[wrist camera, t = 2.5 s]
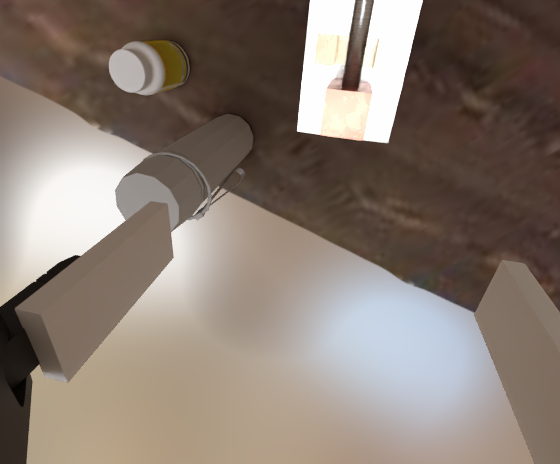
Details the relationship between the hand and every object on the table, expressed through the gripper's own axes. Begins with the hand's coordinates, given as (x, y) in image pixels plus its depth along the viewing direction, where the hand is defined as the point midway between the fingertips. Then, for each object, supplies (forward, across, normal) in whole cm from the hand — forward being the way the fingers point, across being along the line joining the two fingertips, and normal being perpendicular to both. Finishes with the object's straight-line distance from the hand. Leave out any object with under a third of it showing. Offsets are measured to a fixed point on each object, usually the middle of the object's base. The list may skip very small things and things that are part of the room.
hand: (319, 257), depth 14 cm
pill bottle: (+39, -26, +2) cm, 47 cm away
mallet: (+37, 0, +10) cm, 38 cm away
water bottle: (+39, -16, -8) cm, 43 cm away
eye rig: (+39, 0, +8) cm, 40 cm away
